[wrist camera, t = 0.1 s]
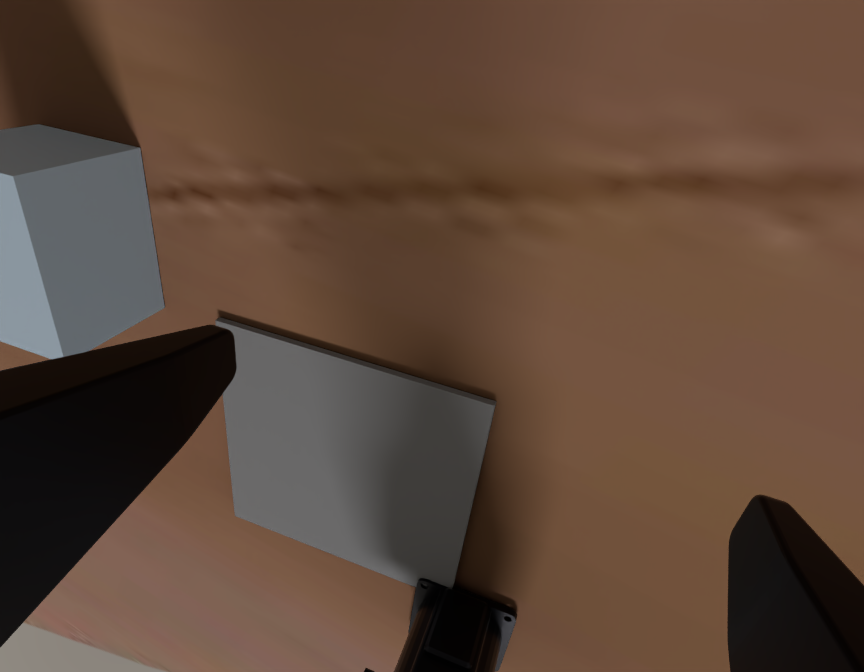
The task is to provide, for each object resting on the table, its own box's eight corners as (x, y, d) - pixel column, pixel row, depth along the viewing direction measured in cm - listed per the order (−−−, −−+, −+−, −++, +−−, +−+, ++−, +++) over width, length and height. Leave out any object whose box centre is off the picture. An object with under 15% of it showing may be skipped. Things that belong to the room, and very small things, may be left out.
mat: (451, 595, 35) (449, 600, 35) (238, 511, 38) (234, 515, 38) (496, 401, 27) (494, 405, 26) (220, 317, 30) (215, 320, 30)
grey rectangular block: (164, 307, 31) (65, 364, 26) (76, 280, 33) (-35, 328, 27) (140, 147, 27) (12, 176, 21) (38, 124, 28) (-105, 145, 23)
